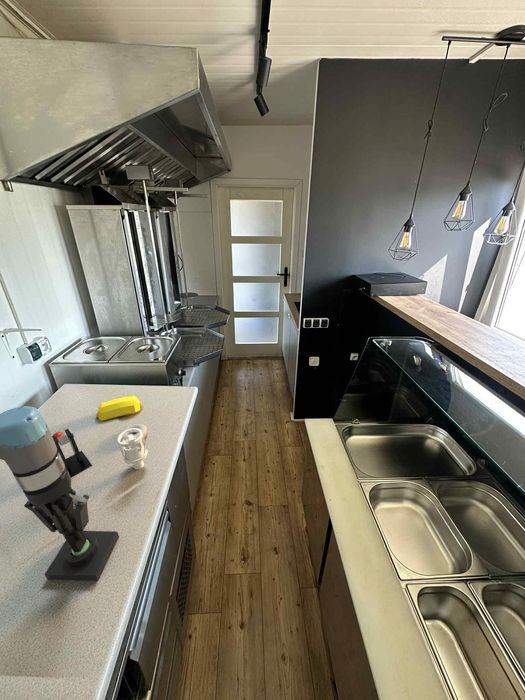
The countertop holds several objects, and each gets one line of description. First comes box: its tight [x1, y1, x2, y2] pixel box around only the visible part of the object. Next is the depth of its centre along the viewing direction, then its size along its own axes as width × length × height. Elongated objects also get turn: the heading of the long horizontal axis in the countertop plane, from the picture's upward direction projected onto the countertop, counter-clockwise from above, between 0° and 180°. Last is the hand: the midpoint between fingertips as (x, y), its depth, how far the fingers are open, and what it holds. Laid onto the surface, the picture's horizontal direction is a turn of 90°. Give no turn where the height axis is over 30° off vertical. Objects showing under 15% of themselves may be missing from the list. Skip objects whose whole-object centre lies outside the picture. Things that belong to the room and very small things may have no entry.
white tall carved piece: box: [117, 428, 149, 470], centre depth 91 cm, size 7×7×15 cm
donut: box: [118, 423, 148, 442], centre depth 106 cm, size 10×4×10 cm
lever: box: [53, 431, 70, 447], centre depth 94 cm, size 14×4×4 cm, turn 46°
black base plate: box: [44, 530, 120, 582], centre depth 69 cm, size 12×10×4 cm
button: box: [72, 539, 90, 557], centre depth 69 cm, size 4×4×2 cm
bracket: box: [52, 428, 93, 479], centre depth 92 cm, size 10×8×14 cm
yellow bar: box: [95, 395, 143, 421], centre depth 119 cm, size 18×7×8 cm
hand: (80, 545), depth 68 cm, fingers closed
